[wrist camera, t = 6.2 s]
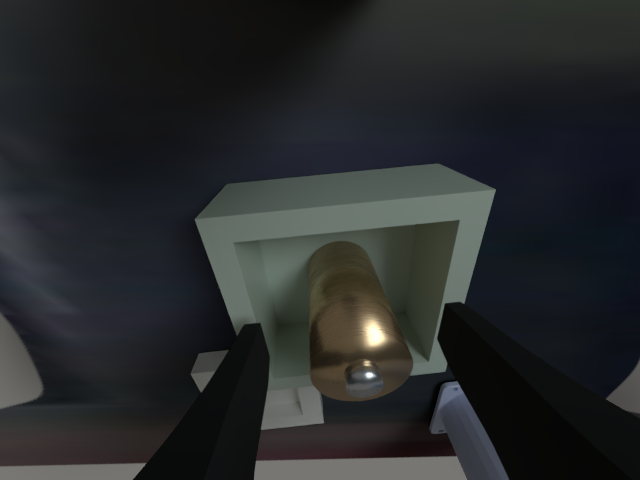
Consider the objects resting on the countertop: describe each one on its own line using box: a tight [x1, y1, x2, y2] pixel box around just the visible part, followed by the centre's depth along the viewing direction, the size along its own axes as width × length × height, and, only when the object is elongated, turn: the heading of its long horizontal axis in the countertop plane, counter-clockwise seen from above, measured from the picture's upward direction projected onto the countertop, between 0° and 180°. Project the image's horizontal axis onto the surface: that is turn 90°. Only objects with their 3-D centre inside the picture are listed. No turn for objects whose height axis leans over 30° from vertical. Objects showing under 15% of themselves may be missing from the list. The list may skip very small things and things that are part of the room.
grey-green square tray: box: [195, 164, 496, 391], centre depth 12 cm, size 10×10×4 cm
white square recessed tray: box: [191, 350, 324, 430], centre depth 18 cm, size 8×8×2 cm
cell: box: [308, 241, 413, 401], centre depth 11 cm, size 4×4×6 cm
